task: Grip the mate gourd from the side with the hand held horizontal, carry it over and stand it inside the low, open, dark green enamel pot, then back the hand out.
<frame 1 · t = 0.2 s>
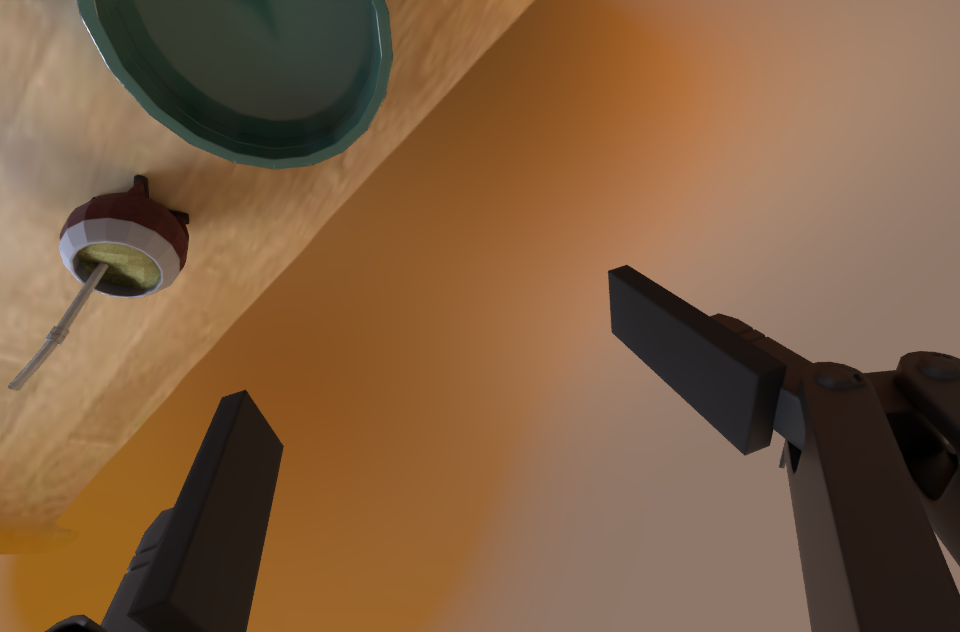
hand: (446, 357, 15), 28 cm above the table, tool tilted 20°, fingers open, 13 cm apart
pot: (257, 23, 28), on the table
mate gourd: (140, 212, 34), on the table
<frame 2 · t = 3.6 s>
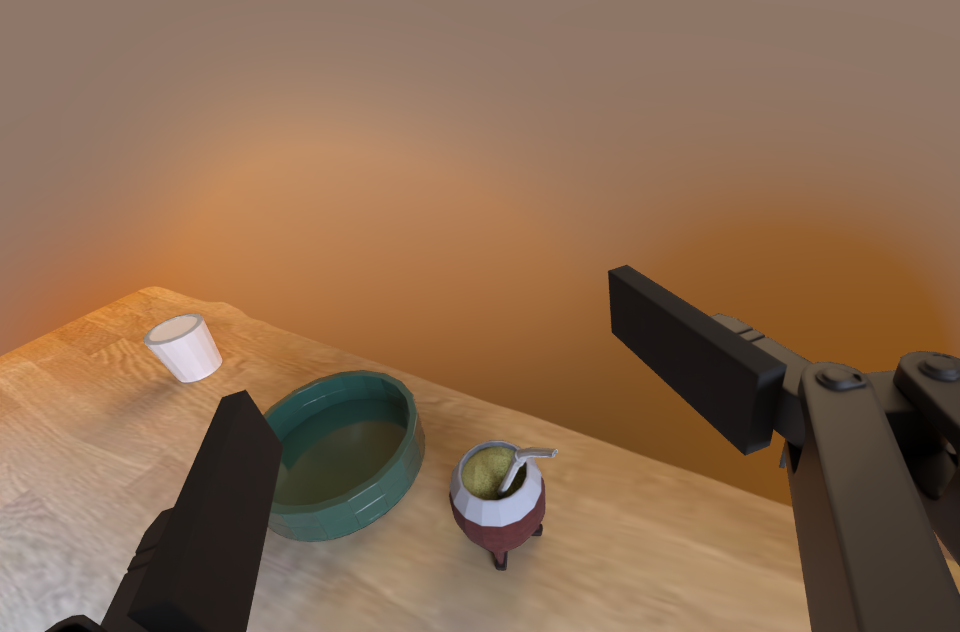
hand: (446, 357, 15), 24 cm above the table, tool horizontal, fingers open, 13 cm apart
pot: (343, 457, 42), on the table
mate gourd: (508, 533, 34), on the table
shot glass: (201, 369, 57), on the table
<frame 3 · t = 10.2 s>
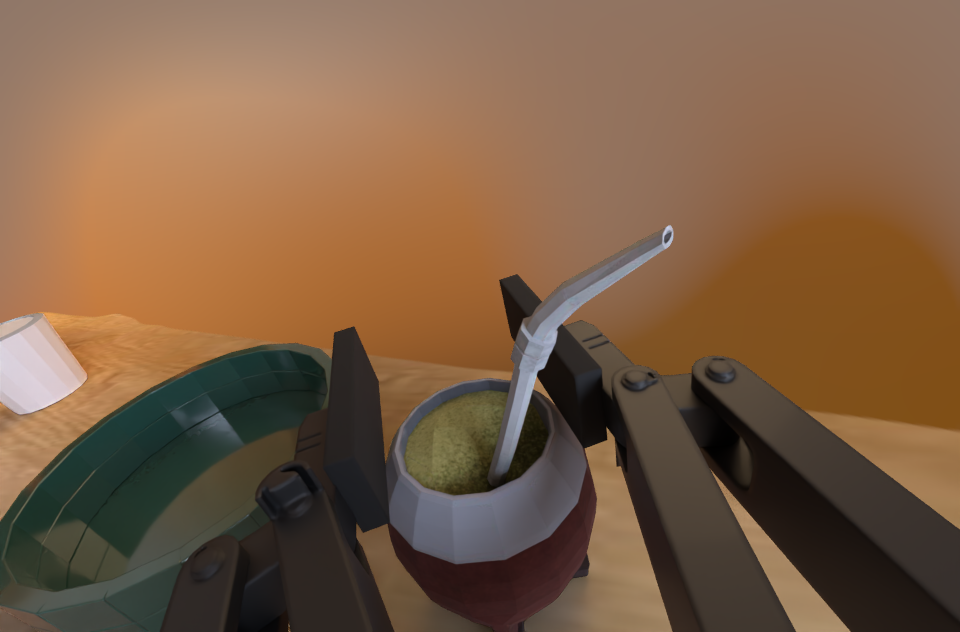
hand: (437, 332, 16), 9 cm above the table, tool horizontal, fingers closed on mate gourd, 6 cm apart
pot: (228, 485, 24), on the table
mate gourd: (521, 580, 17), on the table, touching gripper
shot glass: (54, 394, 40), on the table
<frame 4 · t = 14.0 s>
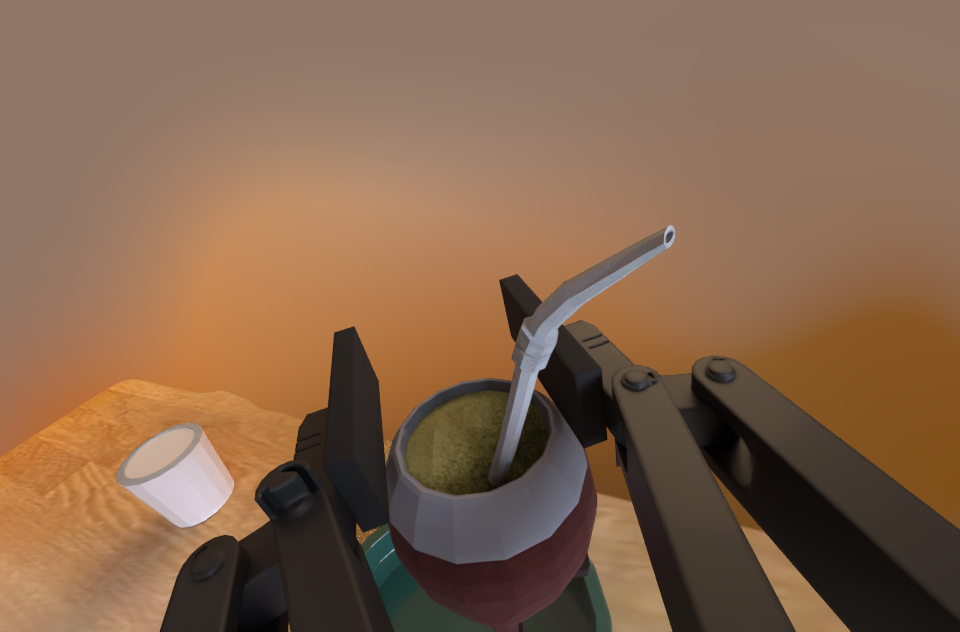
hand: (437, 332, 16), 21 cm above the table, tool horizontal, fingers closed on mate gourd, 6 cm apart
mate gourd: (522, 580, 17), point 12 cm above the table, touching gripper
shot glass: (205, 500, 40), on the table
when the fingers open (9 cm above the table, at t = 18.2 s): mate gourd stays where it is, resting on pot.
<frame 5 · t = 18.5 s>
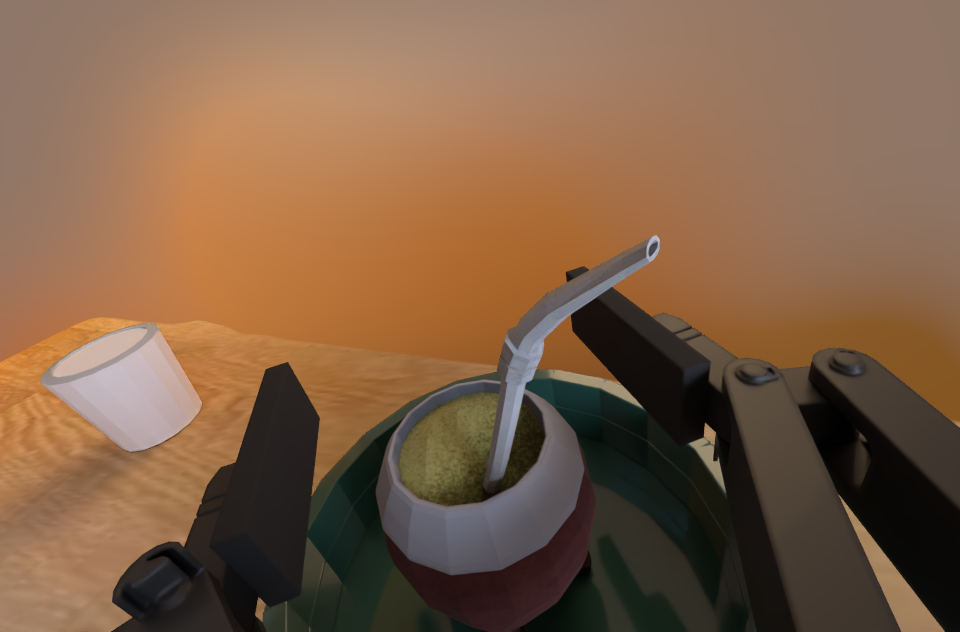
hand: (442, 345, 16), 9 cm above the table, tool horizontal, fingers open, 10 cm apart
pot: (520, 582, 17), on the table
mate gourd: (524, 578, 17), resting on pot
shot glass: (164, 423, 32), on the table
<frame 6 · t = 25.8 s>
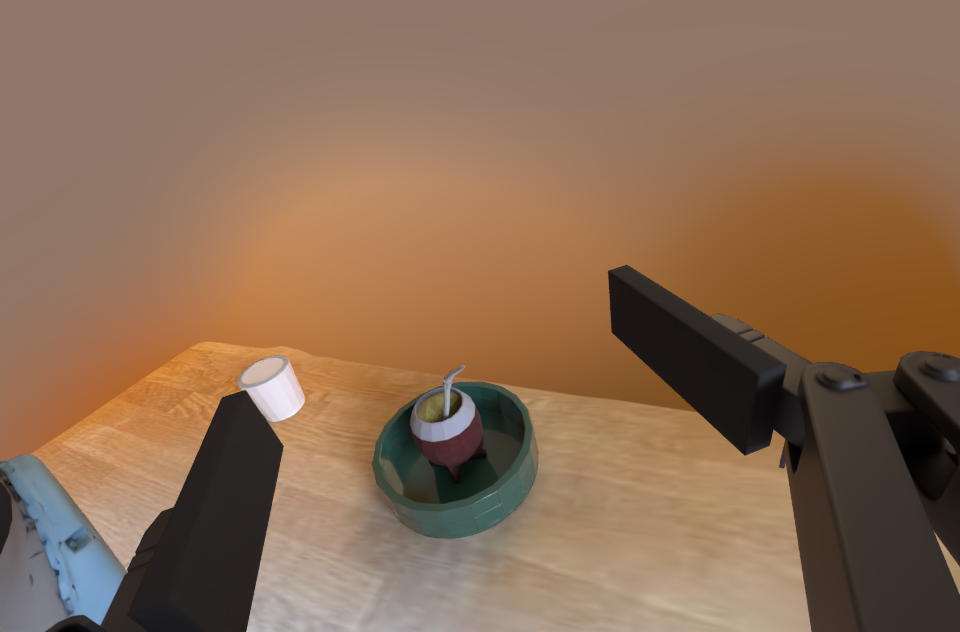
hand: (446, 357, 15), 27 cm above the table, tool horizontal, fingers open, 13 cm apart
pot: (461, 462, 45), on the table
mate gourd: (462, 460, 44), resting on pot
shot glass: (286, 408, 60), on the table
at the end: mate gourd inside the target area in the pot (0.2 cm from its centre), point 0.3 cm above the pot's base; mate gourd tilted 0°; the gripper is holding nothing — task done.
